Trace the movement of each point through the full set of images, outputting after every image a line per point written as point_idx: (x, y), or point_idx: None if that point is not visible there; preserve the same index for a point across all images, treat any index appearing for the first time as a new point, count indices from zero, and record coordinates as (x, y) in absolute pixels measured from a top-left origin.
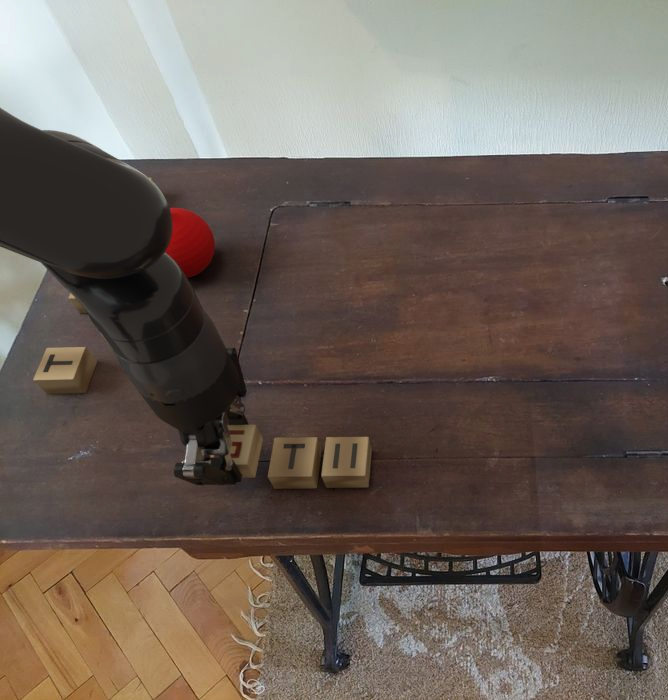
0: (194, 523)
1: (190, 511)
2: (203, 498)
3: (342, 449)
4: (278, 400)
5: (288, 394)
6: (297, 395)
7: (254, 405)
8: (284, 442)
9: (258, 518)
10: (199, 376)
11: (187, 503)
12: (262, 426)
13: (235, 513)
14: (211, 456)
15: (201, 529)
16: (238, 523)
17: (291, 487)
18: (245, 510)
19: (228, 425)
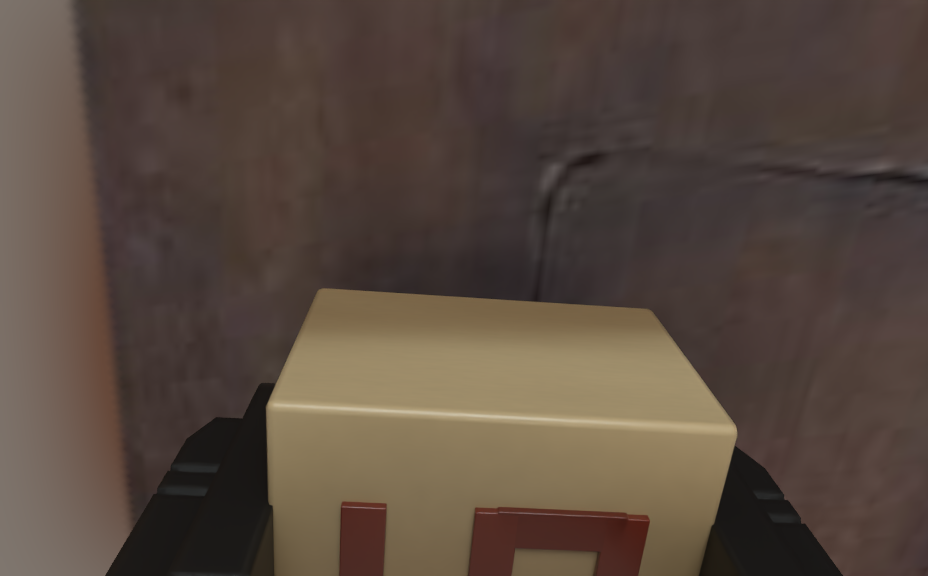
0: (139, 88)
1: (217, 48)
2: (305, 120)
3: None
4: (886, 459)
5: (909, 502)
6: (887, 542)
7: (895, 340)
8: None
9: (191, 428)
10: None
11: (272, 19)
12: (740, 396)
13: (214, 315)
14: (358, 483)
15: (105, 138)
16: (157, 337)
17: None
18: (233, 363)
19: (693, 570)
